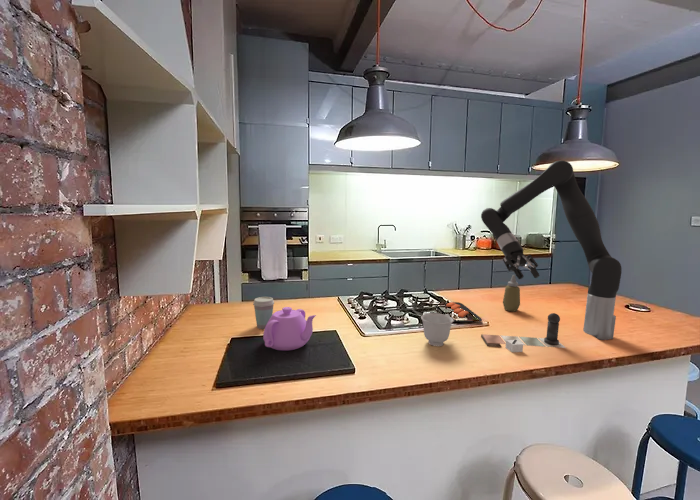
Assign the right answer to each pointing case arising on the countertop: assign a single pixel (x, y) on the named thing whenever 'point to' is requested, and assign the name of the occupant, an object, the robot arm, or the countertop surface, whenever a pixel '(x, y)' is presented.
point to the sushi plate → (460, 310)
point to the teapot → (288, 329)
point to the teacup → (436, 327)
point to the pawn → (552, 329)
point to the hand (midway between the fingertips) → (529, 277)
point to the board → (530, 341)
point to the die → (514, 346)
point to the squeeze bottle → (512, 295)
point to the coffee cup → (263, 310)
